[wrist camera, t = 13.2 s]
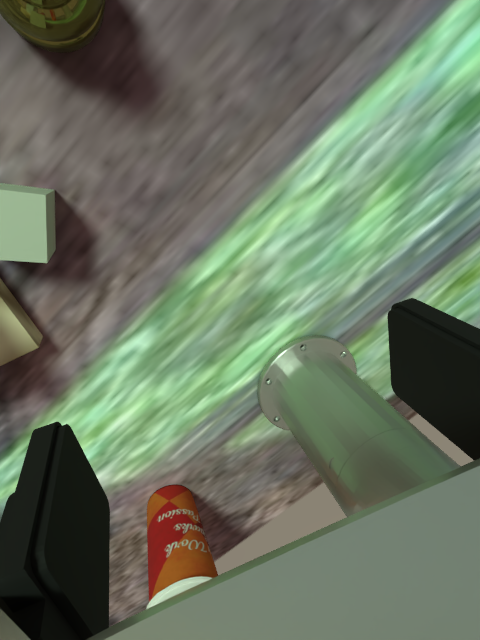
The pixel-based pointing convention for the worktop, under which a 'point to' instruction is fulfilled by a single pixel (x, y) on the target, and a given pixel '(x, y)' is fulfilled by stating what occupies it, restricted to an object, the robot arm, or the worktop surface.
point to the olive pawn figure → (55, 22)
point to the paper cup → (175, 544)
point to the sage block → (27, 223)
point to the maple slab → (15, 328)
